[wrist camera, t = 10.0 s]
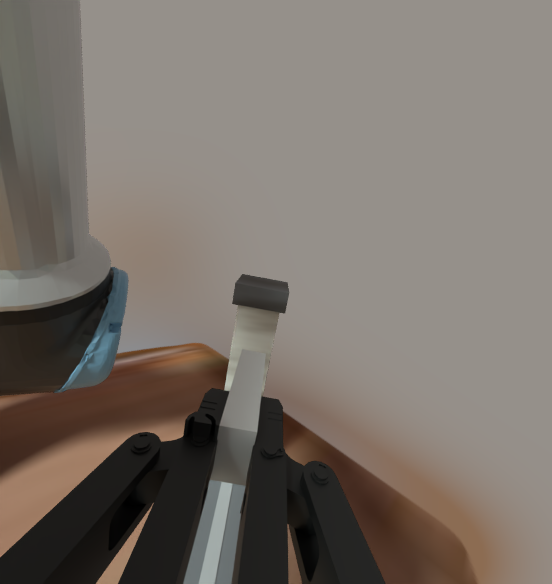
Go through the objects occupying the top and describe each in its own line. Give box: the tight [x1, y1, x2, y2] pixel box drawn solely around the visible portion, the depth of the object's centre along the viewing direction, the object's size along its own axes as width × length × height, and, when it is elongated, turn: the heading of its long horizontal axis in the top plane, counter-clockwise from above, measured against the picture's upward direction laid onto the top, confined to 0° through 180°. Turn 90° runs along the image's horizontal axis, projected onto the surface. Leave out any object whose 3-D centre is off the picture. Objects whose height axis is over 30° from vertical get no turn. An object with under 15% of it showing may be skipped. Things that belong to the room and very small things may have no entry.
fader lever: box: [224, 274, 289, 397], centre depth 30 cm, size 5×5×21 cm
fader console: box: [183, 480, 245, 584], centre depth 27 cm, size 26×9×2 cm, turn 179°
